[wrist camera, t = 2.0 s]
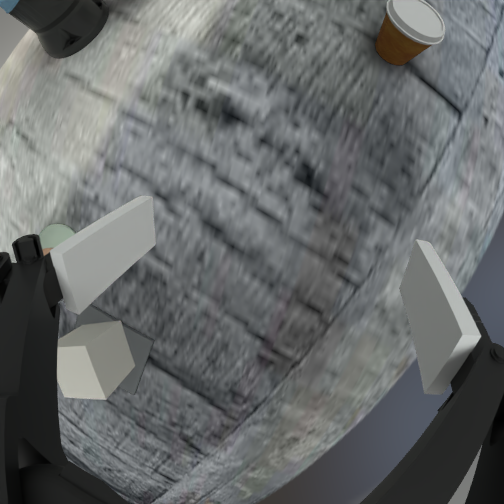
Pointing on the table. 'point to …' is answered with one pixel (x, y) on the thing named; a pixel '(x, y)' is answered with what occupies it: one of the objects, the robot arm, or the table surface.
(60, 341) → the white upright block
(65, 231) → the plate
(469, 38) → the table surface
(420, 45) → the disposable coffee cup
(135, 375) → the mat
